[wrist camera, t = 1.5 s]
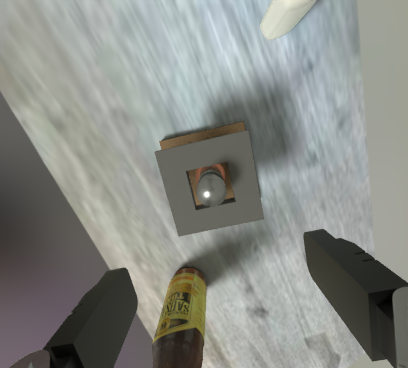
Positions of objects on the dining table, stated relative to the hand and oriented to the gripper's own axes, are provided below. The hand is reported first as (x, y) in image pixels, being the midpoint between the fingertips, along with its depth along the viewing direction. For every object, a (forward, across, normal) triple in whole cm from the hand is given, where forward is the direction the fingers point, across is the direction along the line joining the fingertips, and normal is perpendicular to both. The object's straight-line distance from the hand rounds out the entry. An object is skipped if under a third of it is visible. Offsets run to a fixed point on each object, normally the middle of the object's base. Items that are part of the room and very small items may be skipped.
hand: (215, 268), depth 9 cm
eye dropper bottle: (+23, -13, -17) cm, 31 cm away
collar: (+15, 0, 0) cm, 15 cm away
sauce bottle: (+23, +8, +18) cm, 30 cm away
